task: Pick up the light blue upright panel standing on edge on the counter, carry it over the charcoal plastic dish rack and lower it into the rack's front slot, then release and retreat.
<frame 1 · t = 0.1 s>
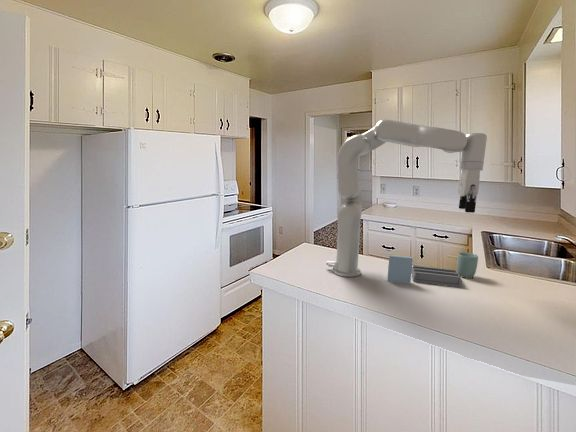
hand: (466, 210, 123), 31 cm above the counter, fingers open, 9 cm apart
cup: (465, 276, 139), on the counter
rack: (434, 279, 133), on the counter
light blue upright panel: (398, 281, 130), on the counter
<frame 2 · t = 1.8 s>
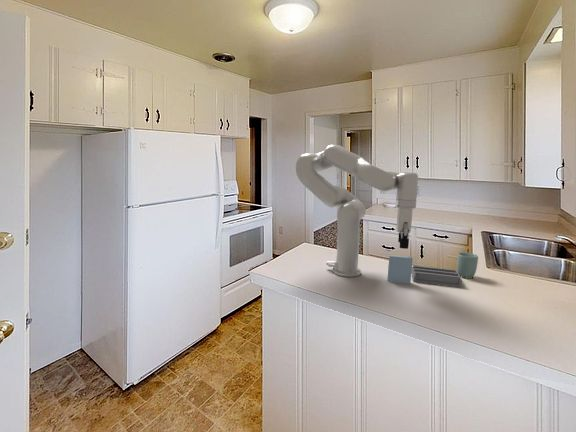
hand: (403, 245, 128), 16 cm above the counter, fingers open, 9 cm apart
nothing on the counter moved.
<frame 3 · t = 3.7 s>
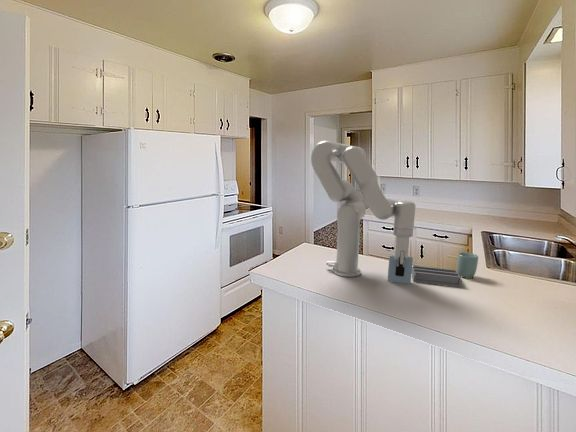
hand: (399, 274, 130), 3 cm above the counter, fingers closed on light blue upright panel, 1 cm apart
light blue upright panel: (398, 281, 130), on the counter, touching gripper
everything else where it was.
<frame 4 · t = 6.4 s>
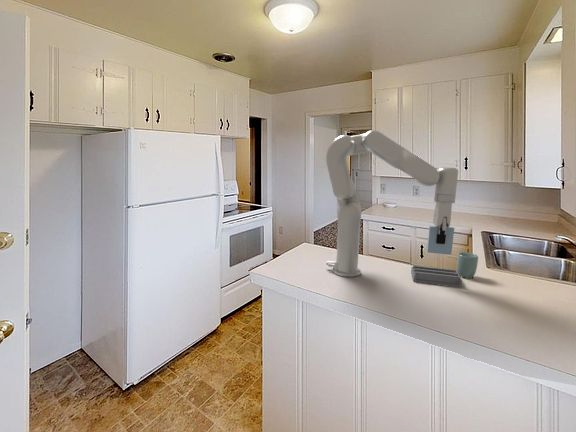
hand: (439, 242, 129), 17 cm above the counter, fingers closed on light blue upright panel
light blue upright panel: (438, 253, 129), point 13 cm above the counter, touching gripper
everything else where it was.
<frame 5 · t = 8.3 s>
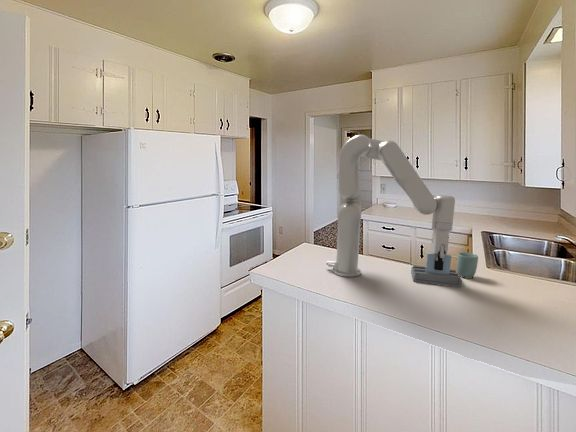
hand: (437, 268, 130), 6 cm above the counter, fingers closed on light blue upright panel, 1 cm apart
light blue upright panel: (436, 279, 131), point 1 cm above the counter, touching gripper, rack
everything else where it was.
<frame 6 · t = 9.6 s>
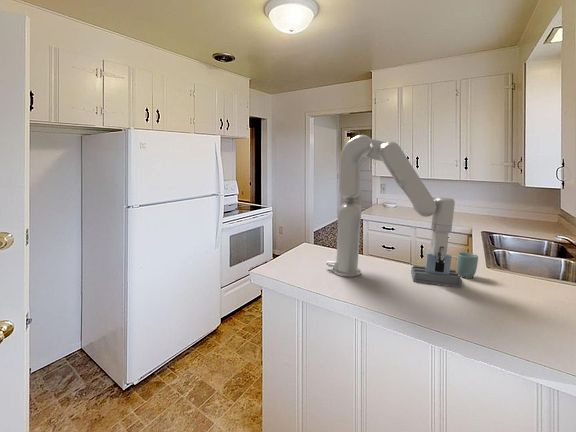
hand: (437, 267, 130), 6 cm above the counter, fingers open, 9 cm apart
light blue upright panel: (436, 279, 131), point 1 cm above the counter, touching rack
everything else where it was.
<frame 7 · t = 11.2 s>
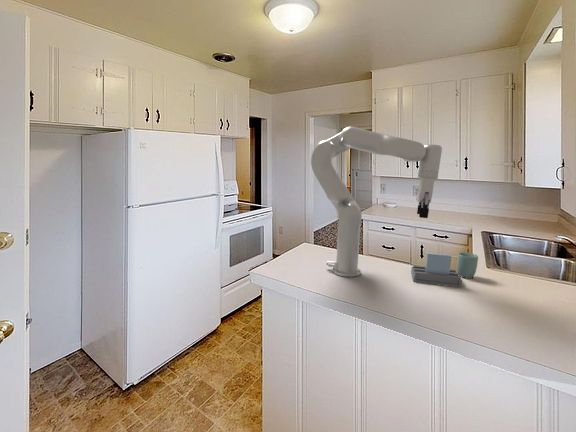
hand: (422, 215, 132), 27 cm above the counter, fingers open, 9 cm apart
nothing on the counter moved.
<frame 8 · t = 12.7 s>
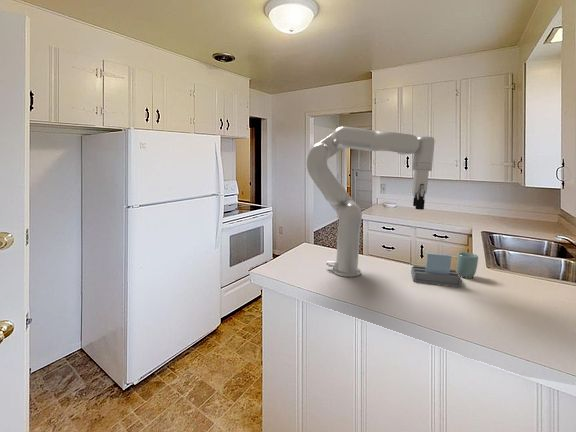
hand: (418, 207, 133), 30 cm above the counter, fingers open, 9 cm apart
nothing on the counter moved.
at the end: light blue upright panel inside the target area on the rack (0.2 cm from its centre), point 1.0 cm above the rack's base; light blue upright panel tilted 0°; the gripper is holding nothing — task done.
